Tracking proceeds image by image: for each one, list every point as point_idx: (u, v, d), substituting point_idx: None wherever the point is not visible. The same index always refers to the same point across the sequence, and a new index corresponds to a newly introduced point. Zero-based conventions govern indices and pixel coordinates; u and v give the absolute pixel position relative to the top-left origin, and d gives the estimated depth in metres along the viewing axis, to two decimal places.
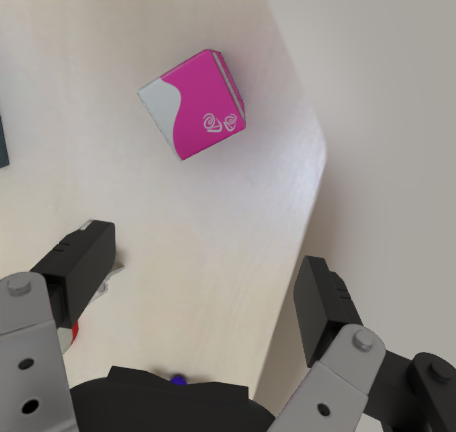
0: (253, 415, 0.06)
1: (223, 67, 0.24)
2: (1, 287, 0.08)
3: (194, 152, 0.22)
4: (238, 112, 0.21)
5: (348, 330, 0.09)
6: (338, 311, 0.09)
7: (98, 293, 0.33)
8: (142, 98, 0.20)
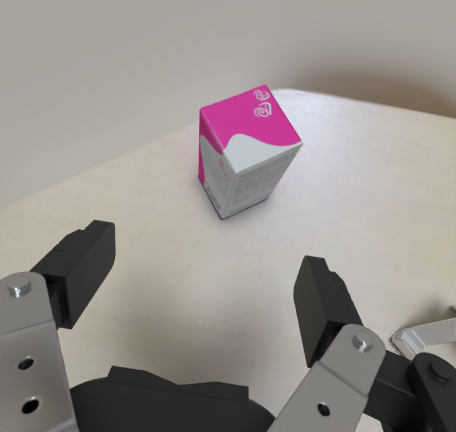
0: (253, 415, 0.06)
1: None
2: (1, 287, 0.08)
3: (292, 128, 0.21)
4: (252, 90, 0.22)
5: (348, 330, 0.09)
6: (338, 311, 0.09)
7: None
8: (242, 168, 0.20)
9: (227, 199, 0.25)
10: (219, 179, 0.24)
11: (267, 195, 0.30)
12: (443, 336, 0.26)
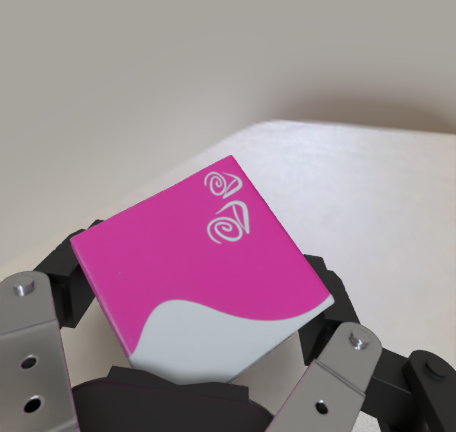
0: (253, 415, 0.06)
1: None
2: (6, 286, 0.08)
3: (304, 262, 0.09)
4: None
5: (345, 328, 0.09)
6: (335, 309, 0.09)
7: None
8: None
9: None
10: None
11: None
12: None
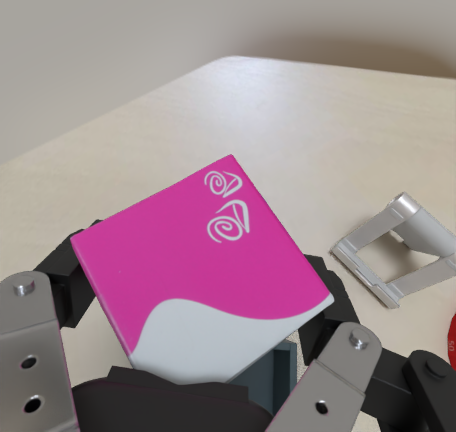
0: (253, 415, 0.06)
1: None
2: (6, 286, 0.08)
3: (305, 262, 0.09)
4: None
5: (345, 328, 0.09)
6: (335, 309, 0.09)
7: (404, 193, 0.28)
8: None
9: None
10: None
11: None
12: (367, 237, 0.32)
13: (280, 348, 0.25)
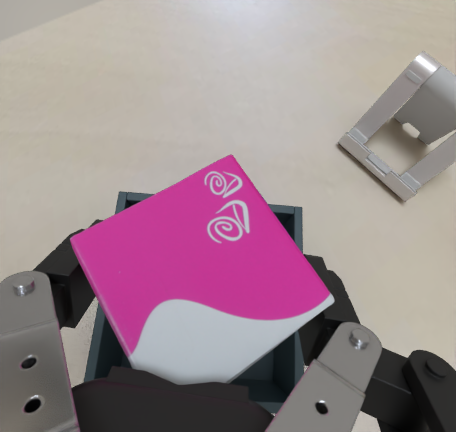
0: (253, 415, 0.06)
1: None
2: (6, 286, 0.08)
3: (305, 262, 0.09)
4: None
5: (345, 328, 0.09)
6: (335, 309, 0.09)
7: (423, 51, 0.25)
8: None
9: None
10: None
11: None
12: (379, 118, 0.28)
13: (283, 211, 0.22)
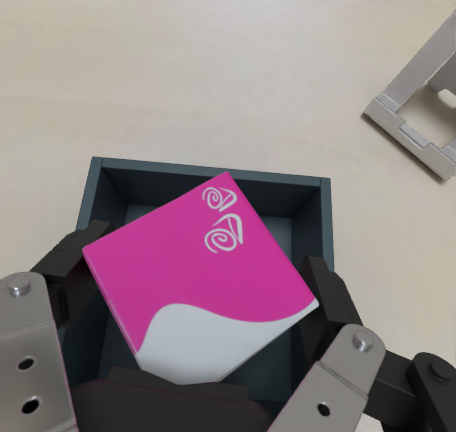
0: (253, 415, 0.06)
1: None
2: (1, 287, 0.08)
3: (292, 270, 0.10)
4: (199, 186, 0.11)
5: (348, 330, 0.09)
6: (338, 311, 0.09)
7: None
8: None
9: None
10: None
11: None
12: (416, 79, 0.23)
13: (306, 183, 0.17)
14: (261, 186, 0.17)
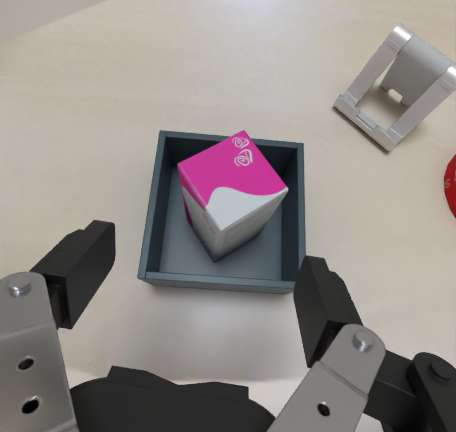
0: (253, 415, 0.06)
1: None
2: (1, 287, 0.08)
3: (276, 174, 0.20)
4: (230, 137, 0.21)
5: (348, 330, 0.09)
6: (338, 311, 0.09)
7: (400, 23, 0.31)
8: (227, 224, 0.19)
9: (216, 248, 0.24)
10: (206, 229, 0.23)
11: (259, 232, 0.29)
12: (367, 82, 0.34)
13: (288, 146, 0.27)
14: (261, 148, 0.28)
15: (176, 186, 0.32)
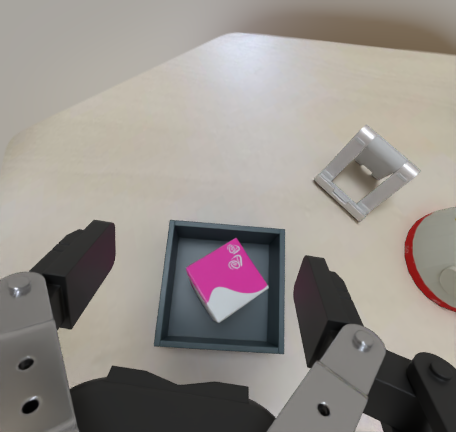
0: (253, 415, 0.06)
1: None
2: (1, 287, 0.08)
3: (259, 275, 0.27)
4: (225, 244, 0.28)
5: (348, 330, 0.09)
6: (338, 311, 0.09)
7: (366, 125, 0.37)
8: (222, 317, 0.26)
9: None
10: (206, 308, 0.30)
11: None
12: (340, 165, 0.41)
13: (272, 232, 0.34)
14: (251, 233, 0.35)
15: (182, 255, 0.39)
